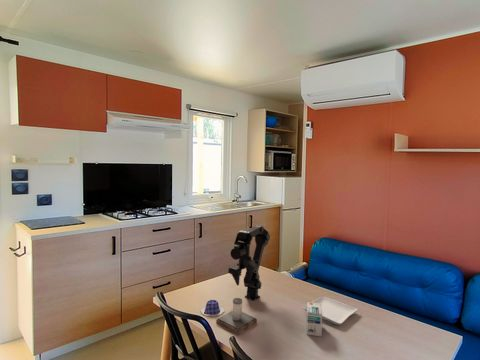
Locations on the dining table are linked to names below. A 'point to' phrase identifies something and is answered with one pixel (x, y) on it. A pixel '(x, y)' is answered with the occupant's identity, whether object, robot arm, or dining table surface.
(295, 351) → the dining table surface
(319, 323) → the light bulb box
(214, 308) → the pudding
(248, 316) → the walnut stand
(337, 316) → the salad plate
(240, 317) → the beige grey cylinder
